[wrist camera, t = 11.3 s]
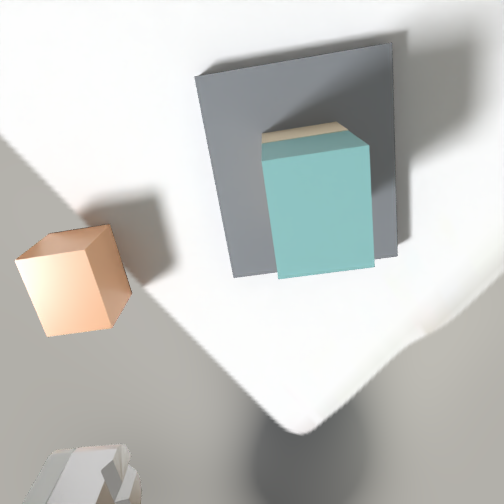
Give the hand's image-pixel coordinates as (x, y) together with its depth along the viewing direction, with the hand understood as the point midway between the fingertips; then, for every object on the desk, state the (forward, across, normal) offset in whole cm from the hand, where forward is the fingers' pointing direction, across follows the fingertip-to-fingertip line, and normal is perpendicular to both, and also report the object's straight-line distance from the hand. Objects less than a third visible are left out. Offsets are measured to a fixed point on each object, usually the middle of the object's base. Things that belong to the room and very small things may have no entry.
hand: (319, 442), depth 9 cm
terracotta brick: (+23, +15, +4) cm, 28 cm away
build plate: (+23, -2, 0) cm, 23 cm away
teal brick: (+18, -2, 0) cm, 18 cm away
